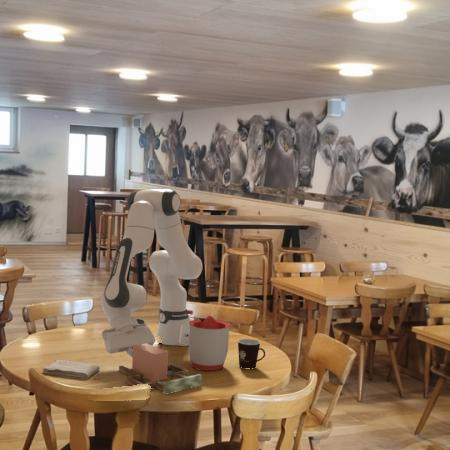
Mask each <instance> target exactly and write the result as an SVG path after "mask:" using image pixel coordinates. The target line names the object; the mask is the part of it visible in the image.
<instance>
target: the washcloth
mask: <svg viewBox="0 0 450 450" xmlns="http://www.w3.org/2000/svg"><path fill="white" fill-rule="evenodd" d="M100 369H101V367H100V365H98V364H94V363H93V364H92V363H86V362H79V361H71V360H64V359H57V360H54V361H53V362H52V363H50V364H48V365H46V366H45V367H43V368H42V373H44V374H47V375H50V376H51V375H52V376H59V377H67V378H73V379H81V380H87V379H89V378H90V377H91V376H93V375H95V374H96V373H98V372H99V371H100Z"/></svg>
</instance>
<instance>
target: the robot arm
mask: <svg viewBox="0 0 450 450" xmlns="http://www.w3.org/2000/svg"><path fill="white" fill-rule="evenodd" d="M126 207H127V211H128V215H127V218H126V224H125V231H124V234H123V238H122V239H121V240H120V241H119V244H118V245H117V248H116V251H115V255H114V259H113V263H112V266H111V267H112V268H111V271H110V275H109V278H108V281H107V284H106V286H105V288H104V291H103V292H102V293H101V295H100V304H101V308H102V310H103V312H104V313H103V314H104V316H105V317H106V318H107V320H108V323H109V324H108V325H109V327H110V328H109V329H104V330H103V331H102V332H101V337H102V340H103V342H104V346H105V348H106V352H107V353H108V354H109V355H110V354H111V355H113V354H116V353H123V352H126V354H127V355H129V356H130V357H131V358H132V359H131V360H133V346H134V345H140V344H146V343H147V344H149V345H152V346H154V344H155V342H156V341H155V338H156V336H160V338H161V340H162V344H161V345H165V346H181V347H187V346H189V331H190V324H189V322H190V321H192V320H193V319H191V318H190V317H189V316H190V315H191V316H192V315H193V314H194V312H195V311H194V310H192V309H188V308H187V297H188V295H187V294H188V293H187V290H186V288H184V287H183V286H182V285H181V283H180V280H179V279H182V280H194V279H195V280H196V279H197V278H199V277H200V275H201V274H202V271H203V262H202V260H201V258H200V257H199V256H198V255H196V254H195V253H194V251H192V249H191V248H190V247H189V244H188V243H187V240H186V237H185V235H184V230H183V225H182V222H181V215H180V213H179V211H180V207H181V197H180V195H179V194H178V192H177V191H176V190H173V189H170V188H167V189H164V188H163V189H161V188H152V189H143V190H141V189H137V190H134V191H131V192H130V193H129V195H128V197H127V199H126ZM155 234H156V240H157V242H158V244H159V245H160V247H161V248H163V250H162V249H161V250H155V251H153V252H152V253H151V255H150V257H149V260H148V264H149V265H148V266H149V269H150V270H151V271H152V273H153V274H154V276H155V277H156V279H157V282H158V285H159V290H160V306H159V310H158V319H159V320H158V321H159V322H158V325H157V326H158V328H157V332H156V336H154V334H153V331H152V330H151V328H150V327H149V326H147V324H148V323H147V320H145V319H142V318H137V317H134V316H132V313H134V312H136V311H138V310H140V309H142V308H143V307H144V306H145V305H146V303H147V300H148V294H147V290H146V288H145V287H144V286H143V285H140V284H137V283H132V282H128V281H127V278H128V274H129V268H130V266H131V265H130V264H131V261H132V260H133V258H134V257H135V256H136V255H137V254H140V253H144V252H145V251H147V250H148V249H149V248H150V247H151V246H152V244H153V241H154V237H155Z"/></svg>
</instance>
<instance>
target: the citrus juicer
mask: <svg viewBox="0 0 450 450" xmlns="http://www.w3.org/2000/svg"><path fill="white" fill-rule="evenodd" d="M191 320H192V321H190V322H189V324H190V331H189V345H188V353H189V358H190V360H189V361H190V363H191V366H192V367H193V368H195V369H196V370H198V369H200V370H199V371H219V370H221V369H222V368H223V367H224V365H225V362H226V358H227V355H228V350H229V338H230V336H229V335H230V326H231V323H229V322H228V321H224V320H221V319H216V318H214V317H213V316H212V315H208V316H206V318H205V319H204V320H203V321H202V320H201V319H200V318H199V319H191Z"/></svg>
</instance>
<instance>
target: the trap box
mask: <svg viewBox="0 0 450 450" xmlns="http://www.w3.org/2000/svg"><path fill="white" fill-rule="evenodd" d="M118 372H120V373H122V374H124V375H126V377H125V378H124V383H125V384H126V385H128V386H131V385H137V384H148V385H150V386H151V388H155V389H157V388H159V389H161V390H160V391H162V390H163V391H162V394H163V393H164V394H167V393H171V392H175V391H179V392H181V391H180V390H183V391H185V390H184V389H187V390H189V389H188V388H191V387H195V388H197V387H196V386H199V387H201V386H202V374H200V373H198V374H194V375H193V374H192V375H189V372H190V370H189V369H187V368H183V367H181V366H179V365H176V364H174V363H168V371H167V376H168V375H169V377H170V376H171V378H172V380H167V381H162V380H161V381H154V382H152V381H150V382H147V381H145V380H144V378H143V374H140V373H138V372H136V371H133V370H132V368H129V367H127V366H124V365H119V366H118ZM188 375H189V376H188ZM173 378H174V379H173ZM200 385H201V386H200ZM159 389H158V390H159ZM191 389H192V388H191ZM175 393H176V392H175ZM164 394H163V395H164ZM171 394H172V393H171ZM167 395H168V394H167Z"/></svg>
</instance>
